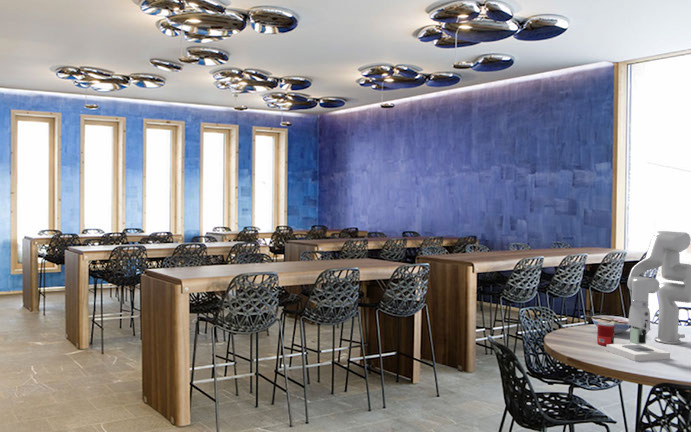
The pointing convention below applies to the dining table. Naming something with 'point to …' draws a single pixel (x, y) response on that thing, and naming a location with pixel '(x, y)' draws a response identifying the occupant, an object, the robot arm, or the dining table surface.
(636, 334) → the green block
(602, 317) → the ramen bowl
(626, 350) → the base board
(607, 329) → the canned food
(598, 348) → the dining table surface
